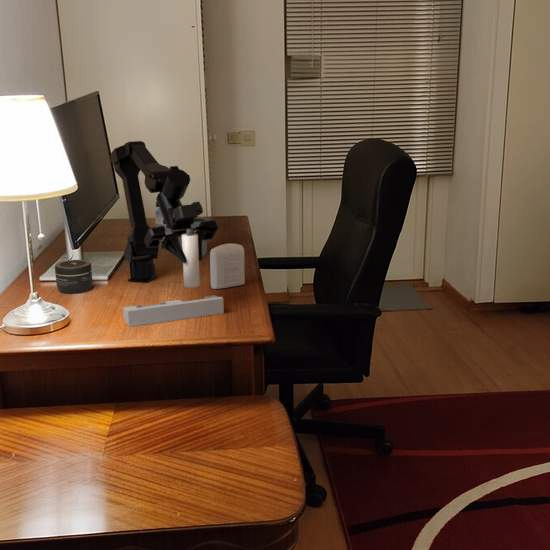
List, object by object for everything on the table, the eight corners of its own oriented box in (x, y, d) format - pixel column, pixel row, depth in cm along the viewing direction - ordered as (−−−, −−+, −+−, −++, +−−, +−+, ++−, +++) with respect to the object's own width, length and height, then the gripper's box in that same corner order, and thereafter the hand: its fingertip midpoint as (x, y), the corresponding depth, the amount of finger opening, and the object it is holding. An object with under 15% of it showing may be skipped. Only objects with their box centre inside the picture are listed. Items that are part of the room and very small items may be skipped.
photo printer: (239, 281, 201) (238, 240, 198) (247, 284, 198) (246, 243, 195) (208, 287, 196) (207, 245, 193) (215, 291, 193) (214, 248, 189)
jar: (76, 282, 202) (73, 257, 199) (100, 287, 197) (98, 261, 194) (49, 291, 193) (46, 265, 191) (74, 296, 188) (72, 270, 186)
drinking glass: (184, 258, 227) (182, 223, 224) (175, 252, 236) (173, 217, 233) (213, 255, 231) (211, 220, 228) (203, 249, 240) (202, 215, 237)
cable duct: (129, 326, 165) (128, 311, 164) (123, 318, 171) (122, 303, 170) (223, 313, 174) (223, 298, 173) (215, 305, 180) (215, 291, 179)
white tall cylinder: (186, 288, 172) (183, 231, 168) (182, 283, 175) (179, 228, 171) (201, 286, 173) (199, 230, 169) (197, 282, 177) (195, 226, 173)
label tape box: (155, 232, 268) (154, 200, 264) (163, 230, 271) (161, 199, 267) (172, 234, 263) (170, 203, 259) (179, 232, 266) (178, 201, 263)
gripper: (145, 195, 166) (166, 248, 160) (214, 188, 176) (236, 238, 170) (135, 221, 175) (155, 273, 169) (201, 213, 184) (222, 262, 178)
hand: (193, 261), depth 171 cm, fingers closed on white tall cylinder, 4 cm apart
